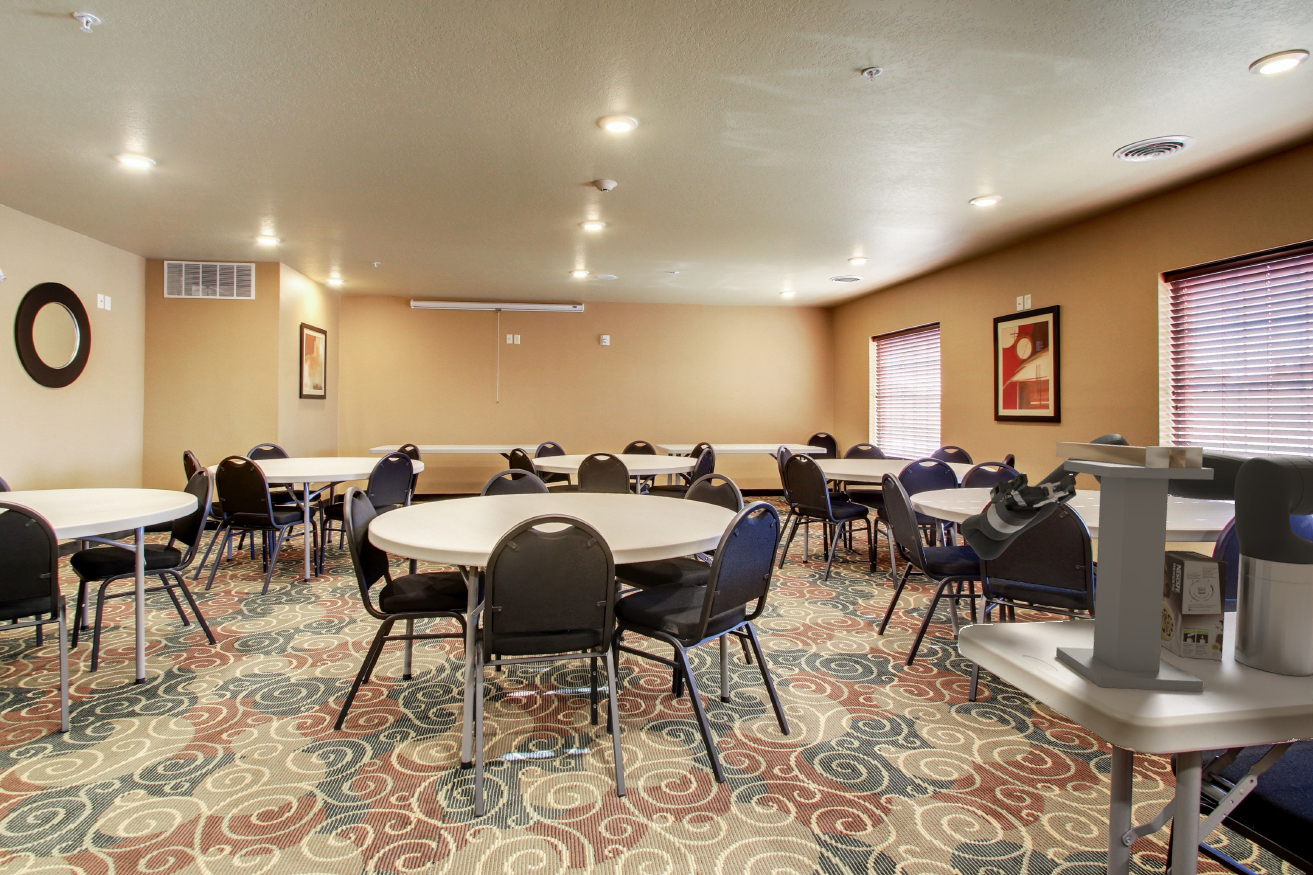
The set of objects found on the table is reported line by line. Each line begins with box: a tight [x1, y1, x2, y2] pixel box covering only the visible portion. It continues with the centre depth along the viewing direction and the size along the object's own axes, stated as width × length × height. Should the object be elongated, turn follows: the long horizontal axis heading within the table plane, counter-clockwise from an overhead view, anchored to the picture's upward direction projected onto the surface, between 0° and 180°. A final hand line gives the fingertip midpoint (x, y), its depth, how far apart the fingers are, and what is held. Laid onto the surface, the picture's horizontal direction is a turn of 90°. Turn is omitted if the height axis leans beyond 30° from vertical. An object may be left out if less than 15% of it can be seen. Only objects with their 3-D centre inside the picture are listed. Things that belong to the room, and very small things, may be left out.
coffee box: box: [1161, 550, 1228, 661], centre depth 111 cm, size 9×6×16 cm
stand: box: [1055, 460, 1214, 693], centre depth 100 cm, size 14×12×32 cm
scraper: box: [1055, 441, 1204, 468], centre depth 104 cm, size 8×22×3 cm, turn 7°
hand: (1048, 477), depth 123 cm, fingers open, 8 cm apart
